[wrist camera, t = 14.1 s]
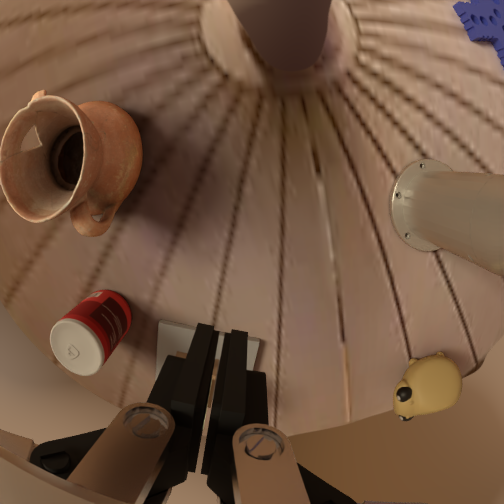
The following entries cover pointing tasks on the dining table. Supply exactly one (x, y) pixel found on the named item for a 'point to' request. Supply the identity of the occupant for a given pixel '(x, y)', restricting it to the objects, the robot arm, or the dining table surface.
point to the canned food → (91, 332)
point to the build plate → (180, 340)
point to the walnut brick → (183, 355)
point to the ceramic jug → (70, 161)
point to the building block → (484, 22)
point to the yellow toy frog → (427, 387)
